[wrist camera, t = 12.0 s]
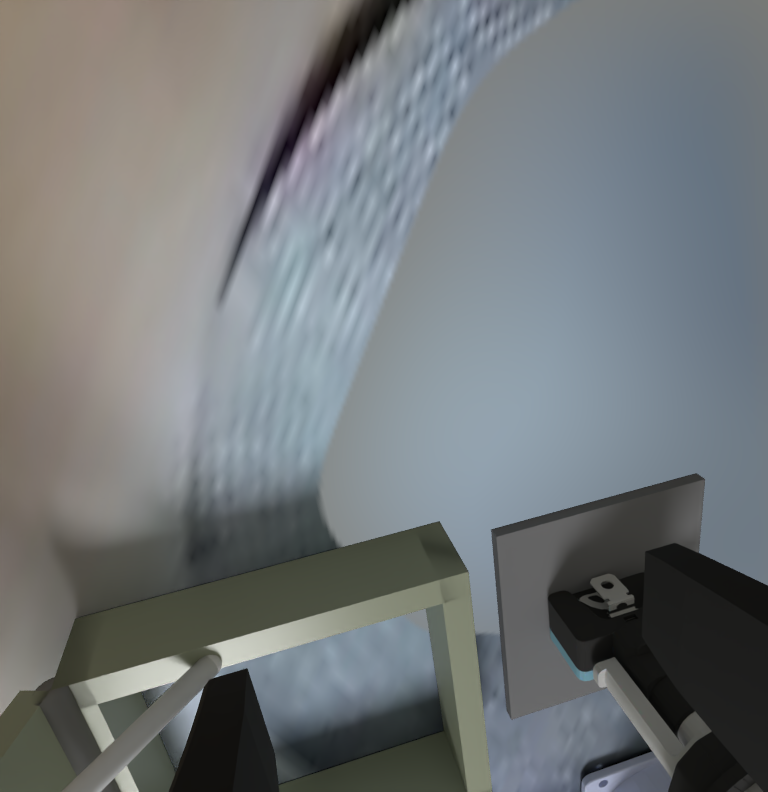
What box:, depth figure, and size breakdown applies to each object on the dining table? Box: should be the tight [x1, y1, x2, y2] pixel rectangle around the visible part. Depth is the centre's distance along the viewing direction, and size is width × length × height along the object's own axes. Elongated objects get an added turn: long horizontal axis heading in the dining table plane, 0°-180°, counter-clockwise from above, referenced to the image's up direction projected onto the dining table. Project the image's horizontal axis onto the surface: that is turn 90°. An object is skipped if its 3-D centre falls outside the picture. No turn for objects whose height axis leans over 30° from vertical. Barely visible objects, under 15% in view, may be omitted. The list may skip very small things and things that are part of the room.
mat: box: [491, 474, 705, 720], centre depth 25 cm, size 9×10×1 cm
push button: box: [548, 572, 763, 792], centre depth 20 cm, size 7×5×10 cm
